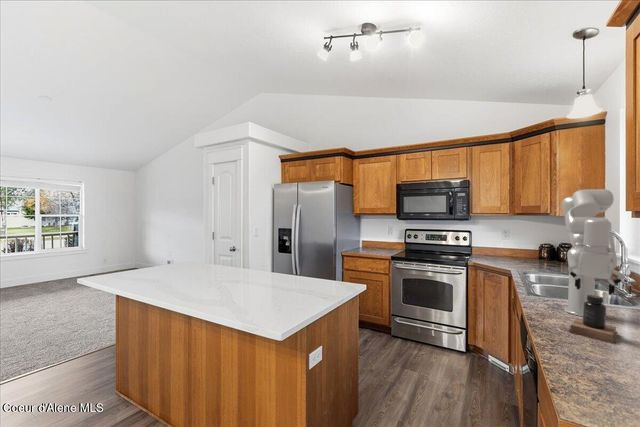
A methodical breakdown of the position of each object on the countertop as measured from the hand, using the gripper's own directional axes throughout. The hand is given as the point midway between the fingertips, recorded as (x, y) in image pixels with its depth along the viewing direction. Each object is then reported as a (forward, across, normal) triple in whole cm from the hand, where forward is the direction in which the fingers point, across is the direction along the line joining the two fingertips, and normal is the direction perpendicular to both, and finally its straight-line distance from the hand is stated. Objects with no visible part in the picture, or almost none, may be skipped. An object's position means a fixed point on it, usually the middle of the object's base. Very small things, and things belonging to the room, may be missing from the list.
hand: (593, 291), depth 122 cm
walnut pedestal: (+17, 0, +1) cm, 17 cm away
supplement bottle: (+14, 0, +1) cm, 14 cm away
